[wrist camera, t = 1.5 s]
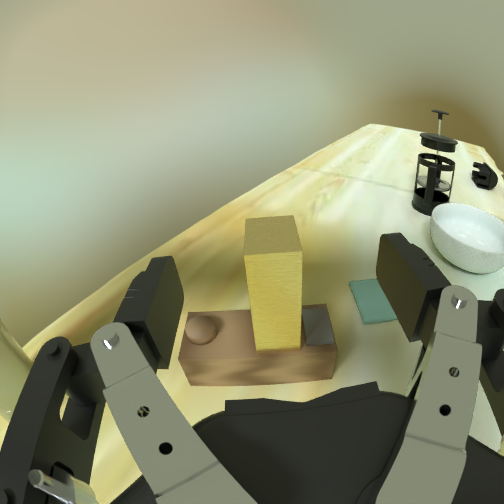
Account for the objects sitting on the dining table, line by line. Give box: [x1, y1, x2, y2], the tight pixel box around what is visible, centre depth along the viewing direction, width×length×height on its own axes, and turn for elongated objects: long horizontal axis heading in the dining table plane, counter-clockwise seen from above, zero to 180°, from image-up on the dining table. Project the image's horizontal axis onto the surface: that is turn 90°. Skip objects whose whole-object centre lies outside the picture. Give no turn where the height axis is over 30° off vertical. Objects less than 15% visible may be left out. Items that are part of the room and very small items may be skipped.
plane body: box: [178, 304, 337, 386], centre depth 30 cm, size 15×6×6 cm, turn 90°
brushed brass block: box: [244, 215, 302, 354], centre depth 26 cm, size 4×6×11 cm, turn 0°
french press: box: [412, 110, 458, 216], centre depth 52 cm, size 12×9×23 cm
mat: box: [349, 279, 398, 324], centre depth 37 cm, size 8×8×1 cm
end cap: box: [472, 162, 498, 190], centre depth 69 cm, size 10×7×7 cm
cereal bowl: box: [430, 203, 504, 274], centre depth 40 cm, size 17×17×7 cm
